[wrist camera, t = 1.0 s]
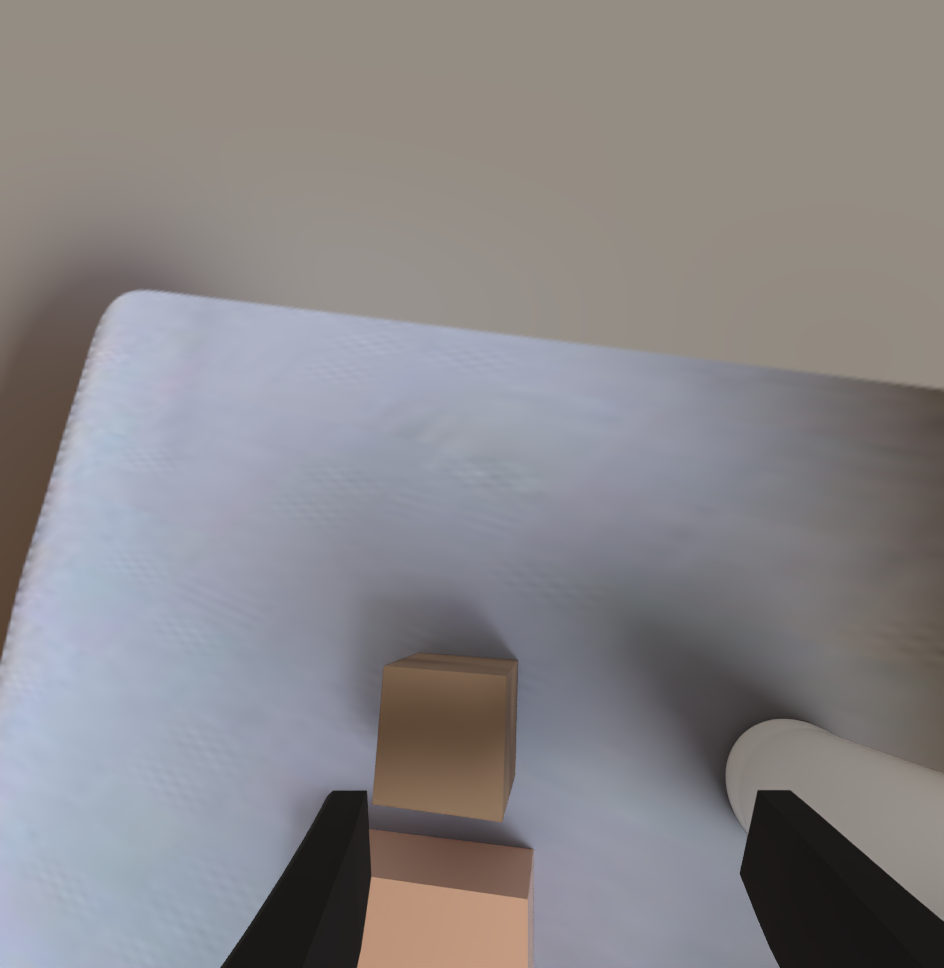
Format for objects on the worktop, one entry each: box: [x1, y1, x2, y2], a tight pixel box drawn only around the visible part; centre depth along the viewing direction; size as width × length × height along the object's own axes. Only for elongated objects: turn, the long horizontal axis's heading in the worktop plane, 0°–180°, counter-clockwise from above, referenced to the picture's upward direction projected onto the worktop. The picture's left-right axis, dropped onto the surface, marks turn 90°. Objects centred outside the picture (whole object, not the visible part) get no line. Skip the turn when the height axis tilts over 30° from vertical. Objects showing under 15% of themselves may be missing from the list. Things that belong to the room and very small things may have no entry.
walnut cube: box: [372, 653, 518, 822], centre depth 21 cm, size 5×5×5 cm
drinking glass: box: [726, 719, 944, 921], centre depth 13 cm, size 7×7×15 cm
